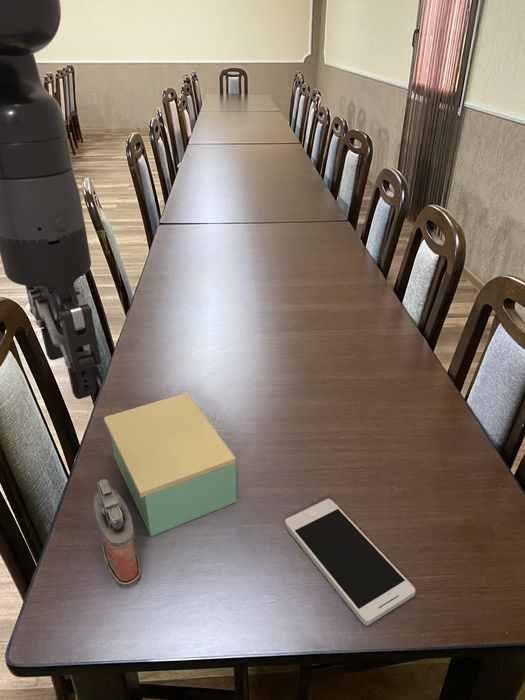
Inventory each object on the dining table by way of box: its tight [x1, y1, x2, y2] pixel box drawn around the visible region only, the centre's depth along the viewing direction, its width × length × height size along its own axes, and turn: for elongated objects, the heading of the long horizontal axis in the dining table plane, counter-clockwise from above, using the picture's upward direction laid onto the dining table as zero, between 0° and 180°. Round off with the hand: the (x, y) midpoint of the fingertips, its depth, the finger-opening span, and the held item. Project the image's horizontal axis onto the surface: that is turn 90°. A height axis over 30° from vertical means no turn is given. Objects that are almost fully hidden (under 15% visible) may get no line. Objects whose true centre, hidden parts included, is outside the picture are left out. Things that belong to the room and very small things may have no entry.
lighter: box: [93, 479, 142, 589], centre depth 59 cm, size 8×3×10 cm, turn 29°
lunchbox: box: [110, 436, 237, 537], centre depth 71 cm, size 12×16×7 cm
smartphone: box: [284, 498, 416, 627], centre depth 62 cm, size 7×15×1 cm, turn 31°
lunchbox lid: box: [103, 392, 237, 497], centre depth 69 cm, size 12×16×1 cm
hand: (71, 375), depth 56 cm, fingers open, 8 cm apart
